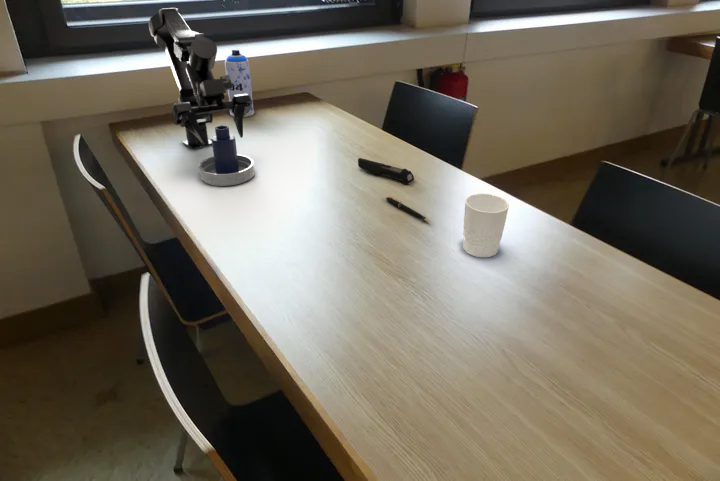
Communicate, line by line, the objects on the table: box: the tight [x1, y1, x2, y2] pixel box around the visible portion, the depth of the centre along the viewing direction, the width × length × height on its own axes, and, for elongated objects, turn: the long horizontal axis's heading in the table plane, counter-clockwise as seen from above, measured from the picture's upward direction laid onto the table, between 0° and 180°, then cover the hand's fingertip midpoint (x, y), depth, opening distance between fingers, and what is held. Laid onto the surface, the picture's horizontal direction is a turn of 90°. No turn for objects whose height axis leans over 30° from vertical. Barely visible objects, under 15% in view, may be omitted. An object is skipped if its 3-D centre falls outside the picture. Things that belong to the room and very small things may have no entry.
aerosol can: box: [224, 49, 255, 118], centre depth 170 cm, size 8×8×20 cm
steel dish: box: [198, 153, 256, 187], centre depth 131 cm, size 13×13×3 cm
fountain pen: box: [385, 195, 430, 222], centre depth 116 cm, size 14×1×2 cm, turn 38°
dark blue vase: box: [210, 124, 239, 174], centre depth 129 cm, size 6×6×12 cm
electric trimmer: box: [357, 157, 415, 185], centre depth 132 cm, size 4×16×3 cm, turn 55°
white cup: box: [462, 193, 510, 258], centre depth 101 cm, size 8×8×10 cm
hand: (223, 140), depth 127 cm, fingers open, 9 cm apart
